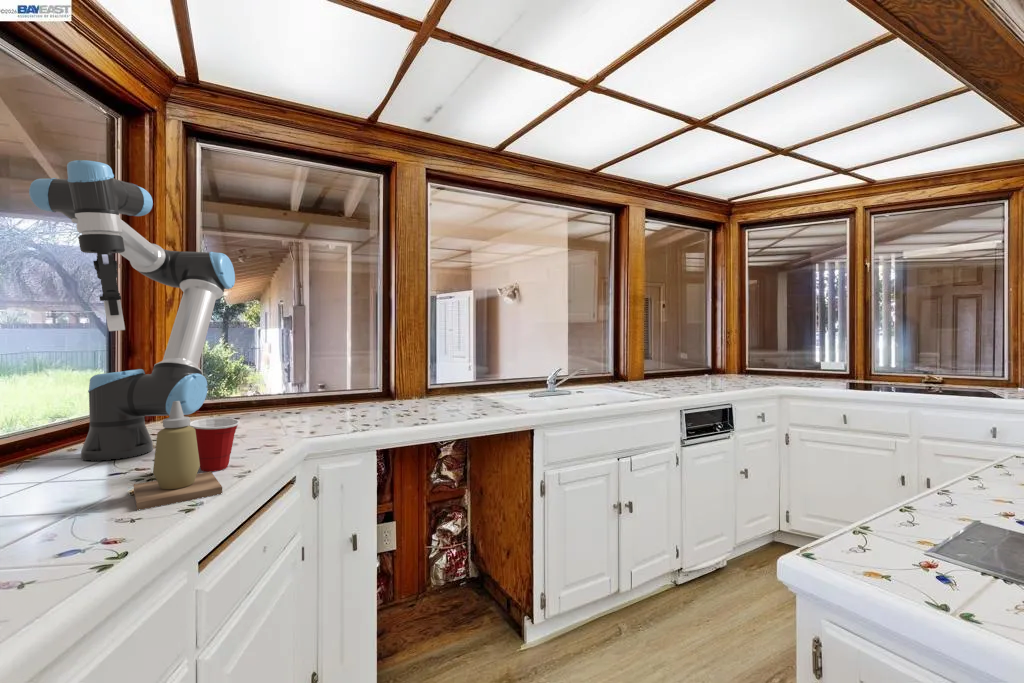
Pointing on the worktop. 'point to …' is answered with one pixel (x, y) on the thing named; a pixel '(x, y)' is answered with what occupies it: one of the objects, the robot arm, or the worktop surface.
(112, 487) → the worktop surface
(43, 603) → the worktop surface
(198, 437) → the plastic cup
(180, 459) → the squeeze bottle
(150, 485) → the walnut board
